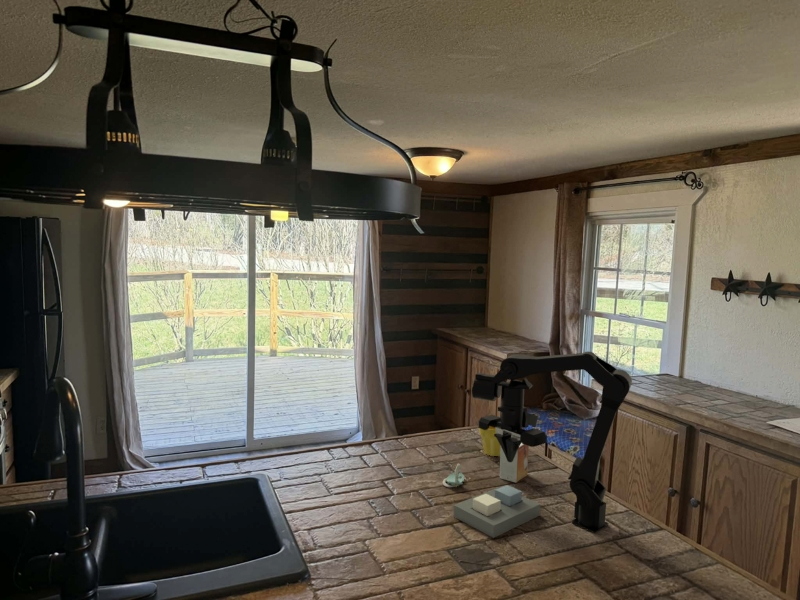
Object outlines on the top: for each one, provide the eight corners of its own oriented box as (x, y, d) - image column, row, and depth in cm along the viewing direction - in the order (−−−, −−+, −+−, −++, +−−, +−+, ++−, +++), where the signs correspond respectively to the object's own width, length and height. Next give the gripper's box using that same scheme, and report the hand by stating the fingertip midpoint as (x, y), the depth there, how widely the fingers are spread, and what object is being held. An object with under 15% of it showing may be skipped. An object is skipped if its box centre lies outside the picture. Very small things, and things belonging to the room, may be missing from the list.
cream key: (500, 510, 136) (500, 500, 136) (487, 516, 133) (487, 505, 133) (485, 503, 140) (485, 493, 140) (472, 508, 137) (472, 498, 137)
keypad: (539, 515, 140) (540, 504, 140) (493, 537, 129) (493, 525, 128) (500, 497, 150) (500, 486, 150) (453, 516, 139) (453, 505, 138)
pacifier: (440, 488, 155) (461, 490, 154) (440, 467, 155) (461, 469, 153) (444, 478, 162) (465, 480, 161) (444, 457, 162) (465, 459, 160)
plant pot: (491, 461, 176) (492, 431, 175) (472, 450, 185) (473, 422, 184) (516, 455, 181) (517, 426, 180) (496, 445, 190) (497, 418, 189)
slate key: (521, 501, 142) (521, 491, 141) (509, 506, 138) (509, 496, 138) (506, 494, 145) (507, 485, 145) (494, 499, 142) (495, 489, 142)
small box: (516, 483, 159) (517, 448, 158) (498, 478, 163) (500, 443, 162) (527, 474, 166) (529, 440, 165) (510, 470, 169) (512, 436, 168)
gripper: (561, 406, 141) (558, 466, 142) (505, 391, 155) (503, 445, 157) (533, 414, 134) (531, 476, 135) (477, 397, 148) (476, 453, 150)
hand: (510, 461), depth 144 cm, fingers closed
